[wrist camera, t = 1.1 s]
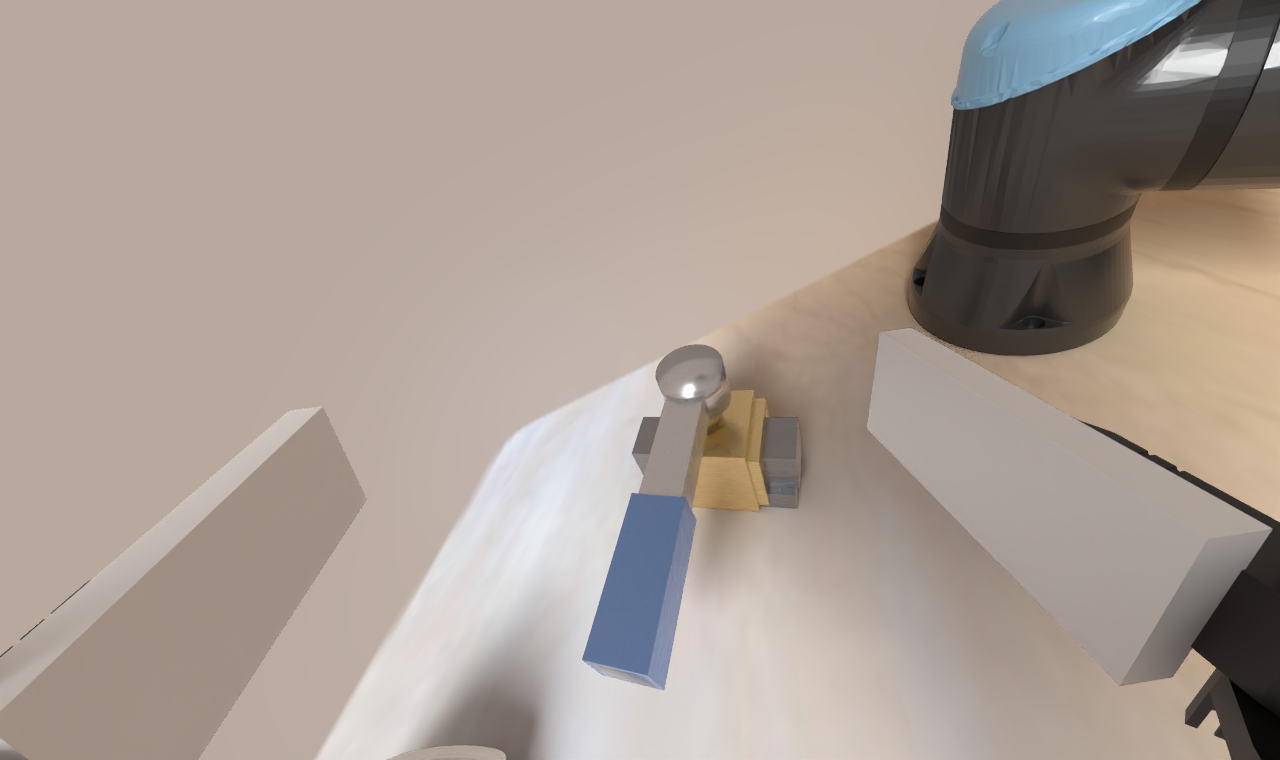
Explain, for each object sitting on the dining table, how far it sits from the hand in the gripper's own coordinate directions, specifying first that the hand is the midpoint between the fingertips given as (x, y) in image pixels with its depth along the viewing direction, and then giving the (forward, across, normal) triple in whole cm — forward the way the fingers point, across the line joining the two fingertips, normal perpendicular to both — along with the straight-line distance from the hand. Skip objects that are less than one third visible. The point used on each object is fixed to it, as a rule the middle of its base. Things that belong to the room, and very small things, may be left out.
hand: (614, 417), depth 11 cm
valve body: (+20, +8, -19) cm, 29 cm away
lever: (+11, +3, -12) cm, 17 cm away
